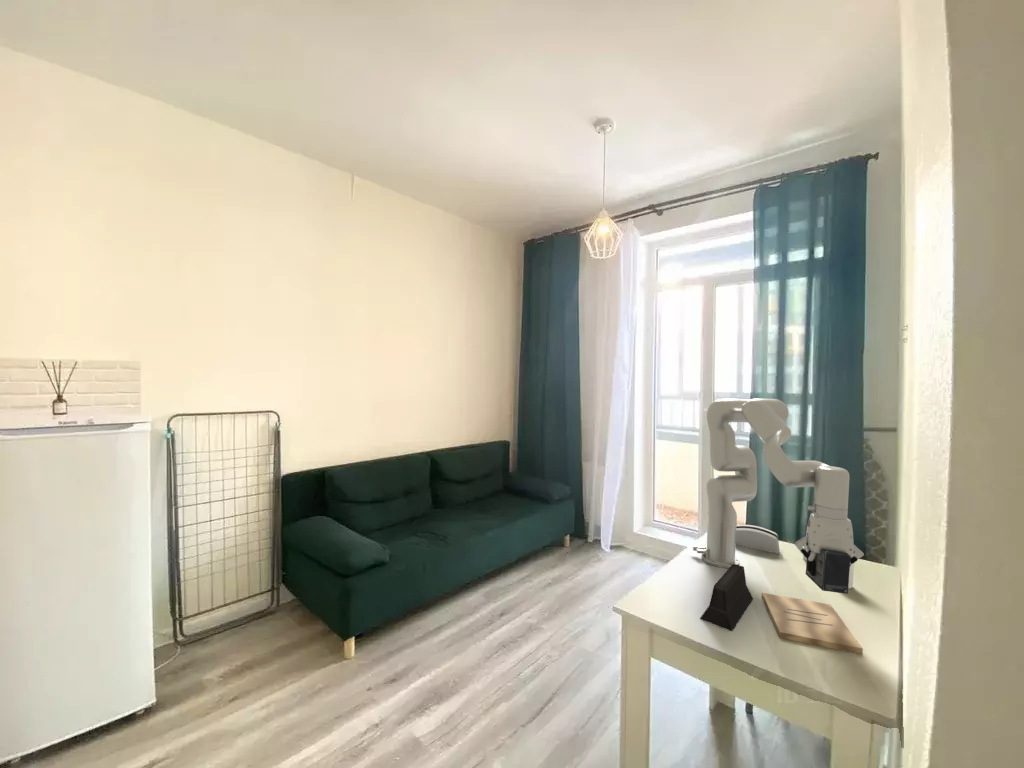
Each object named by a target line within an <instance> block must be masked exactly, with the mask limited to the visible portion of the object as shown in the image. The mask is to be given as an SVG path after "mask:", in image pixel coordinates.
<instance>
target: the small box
mask: <svg viewBox="0 0 1024 768" xmlns="http://www.w3.org/2000/svg"><path fill="white" fill-rule="evenodd" d="M808 549H809V547H808ZM807 551H808V550H807ZM850 557H851V556H850V555H849V554H848V553H845V552H840V551H834V550H827V549H820V554H817V555H816V556H815V558H814V562H815V575H814V576H811V575H810V573H809V572H808V571H807V570H806V569H805V575H806V576H807V577H808V578H809V579H810V580H811V581H812V582H813V583H814V584H815V585H816V586H817V587H818V588H819V589H820V590H821V591H823V592H831V593H839V594H846V595H847V594H849V589H848V584H849V570H850Z"/></svg>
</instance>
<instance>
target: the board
mask: <svg viewBox="0 0 1024 768" xmlns="http://www.w3.org/2000/svg"><path fill="white" fill-rule="evenodd" d="M761 600H762V601H763V603H764V606H765V608H766V611H767V612H768V614H769V617H770V619H771V621H772V623H773V626H774V628H775V631H776V633H777V634H778V637H779V638H780V639H785V640H789V641H794V642H799V643H805V644H809V645H813V646H814V645H815V646H820V647H823V648H830V649H835V650H838V651H843V652H849V653H854V654H858V655H863V653H864V652H863V651H864V649H863V647H862V646H861V644H860V642H859V641H858V640H857V638H856V637H855V636H854V635H853V633H852V632H851V630H850V628H849V627H848V626H847V625H846V623H845V622H844V621H843V619H842V618H841V616H840V615H839V614H838V612H836V610H835V609H834V607H833V605H831V604H830V603H824V602H817V601H814V600H813V601H812V600H807V599H801V598H800V599H799V598H795V597H789V596H783V595H779V594H772V593H766V592H761Z"/></svg>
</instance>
